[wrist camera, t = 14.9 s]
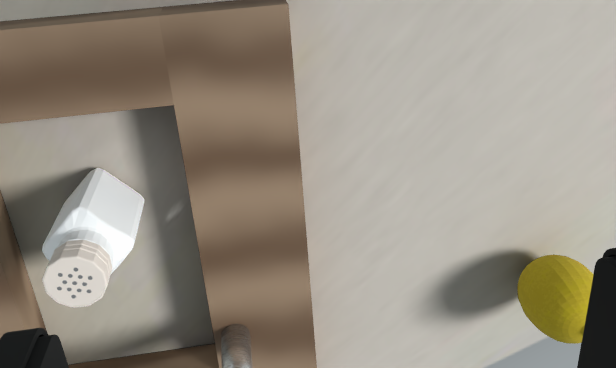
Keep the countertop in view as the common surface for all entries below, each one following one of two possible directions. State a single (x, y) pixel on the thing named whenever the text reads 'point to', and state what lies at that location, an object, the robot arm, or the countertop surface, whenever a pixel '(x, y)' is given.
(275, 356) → the wooden frame with handle
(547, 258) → the lemon
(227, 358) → the metal grab handle
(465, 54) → the countertop surface
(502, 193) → the countertop surface
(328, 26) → the countertop surface
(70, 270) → the pepper shaker
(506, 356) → the countertop surface
